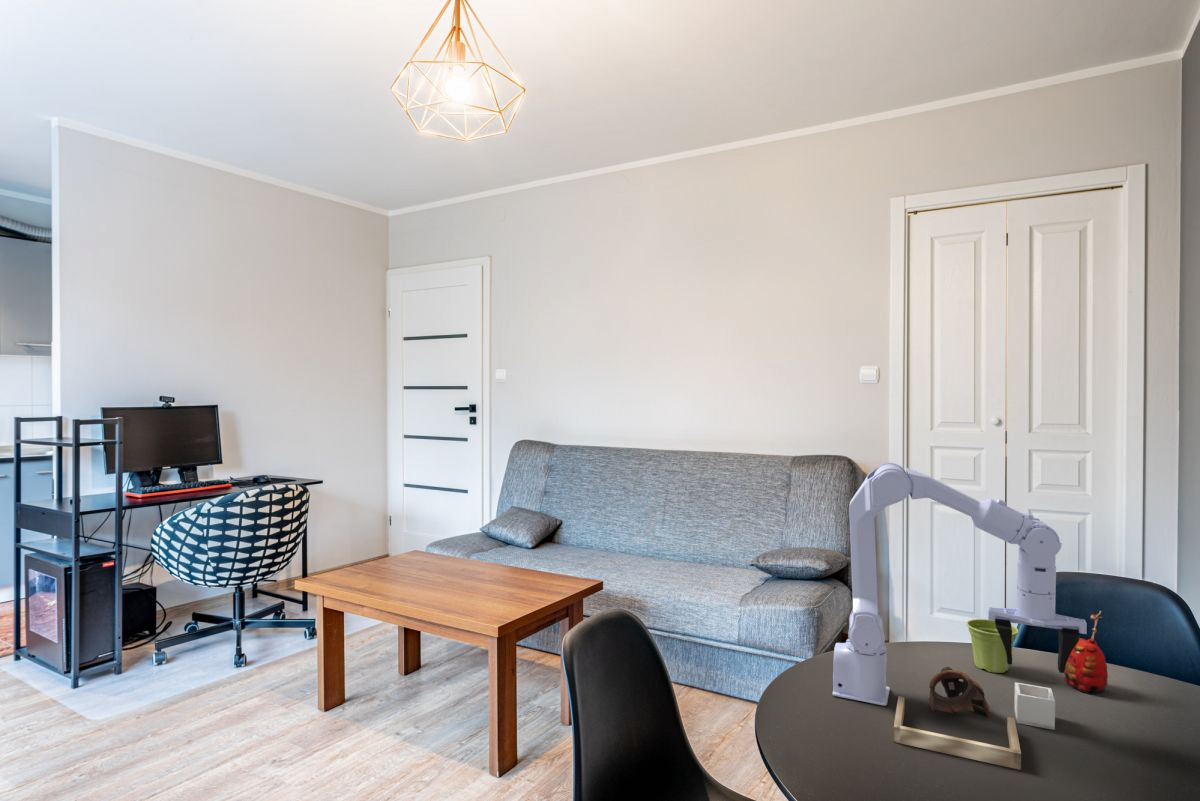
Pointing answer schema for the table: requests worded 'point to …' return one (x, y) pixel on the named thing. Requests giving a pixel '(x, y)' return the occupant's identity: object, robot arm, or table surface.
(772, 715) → the table surface
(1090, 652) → the red clay folk toy
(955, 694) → the brown hollow curved piece
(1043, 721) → the white square open box
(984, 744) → the birch bay
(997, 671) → the plant pot
